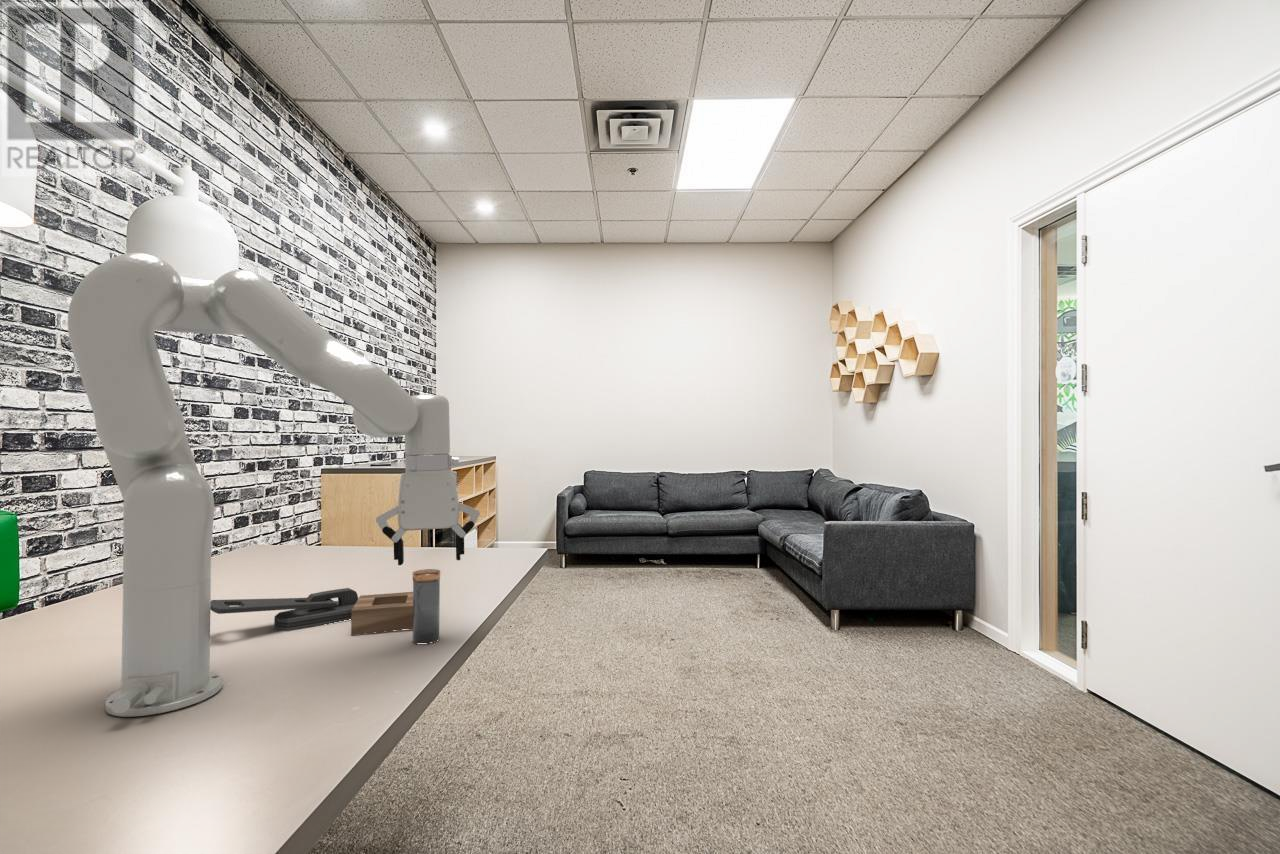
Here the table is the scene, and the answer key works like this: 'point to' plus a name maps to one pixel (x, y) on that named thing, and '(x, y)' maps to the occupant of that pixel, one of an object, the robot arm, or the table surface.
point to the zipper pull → (296, 608)
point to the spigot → (426, 605)
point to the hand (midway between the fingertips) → (430, 561)
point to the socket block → (382, 613)
